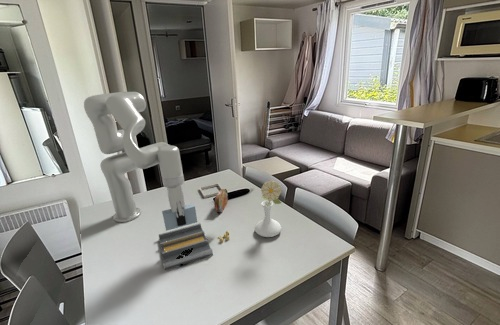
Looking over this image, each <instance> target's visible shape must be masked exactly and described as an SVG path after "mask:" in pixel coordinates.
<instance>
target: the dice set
mask: <svg viewBox="0 0 500 325" xmlns="http://www.w3.org/2000/svg"><path fill="white" fill-rule="evenodd" d="M222 235H223V236H220V235H218V236H217V239H219V242H220V243H224V239H225V241H230V231H228V230H227V231H225V233H223V234H222Z"/></svg>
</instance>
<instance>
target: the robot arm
mask: <svg viewBox="0 0 500 325" xmlns="http://www.w3.org/2000/svg"><path fill="white" fill-rule="evenodd" d="M83 108H84V112H85V114H86V117H87V118H88V119H89V121H90V122H91V124H92V126H93V130H94V132H95V133H94V134H95V136H96V137H95V138H96V141H97V145H98V147H99V150H100V152H101V153H102V154H104V155H111V156H108V157H106V158H104V159H103V160H101V162H100V170H101V171H102V174H103V176H104V178H105V181H106V183H107V186H108V187H107V188H108V189H109V190H108V191H109V193H110V197H111V200H112V205H113V208H114V215H113V216H112V217H113V221H114V222H115V223H126V222H131V221H133V220H135V219H136V218H138V217H139V216H140V215H141V212H142V211H141V209H140V208H138V207H137V205H136V201H135V197H134V193H133V188H132V184H131V180H129V179H128V178H127V177H126V176H124V174H127V173H130V172H132V171H135V170H137V169H139V170H140V169H142V170H145V169H148V168H151V167H154V166H157V165H159V169H160V174H161V180H162V184H163V187H164V188H166V191H167V192H166V193H167V197H168V202H169V207H170V209H171V211H172V212H173V213H174V212H176V215H177V217H176V219H177V225H178V226H182V225H185V224H186V219H185V215H184V211H183V209H184V210H185V205H186V202H185V197H184V191H183V185H184V183H185V176H184V173H183V164H182V160H181V153H180V148H178V147H177V146H176V145H171V144H168V143H167V142H164V141H160V142H156V143H153V144H149V145H146V146H143V147H139V146H138V142H137V138H136V136H137V135H138V134H140V133H141V132H143V130H144V129H145V126H146V119H145V118H144V117H143V116H142V115H141V112H142V113H143V112H144V111H145V109H146V108H147V103H146V100H145V98H144V96H143V95H142V94H141V93H139V92H137V91H119V92H110V93H100V94H95V95H91V96H88V97H87V98H85V100H84V102H83ZM110 115H112V117H113V118H112V117H111V116H110ZM114 119H115V120H114ZM115 121H116V122H117V123H118V125H119V126H120V128H122V129H118V130H117V127H116V122H115ZM123 151H124V152H123ZM119 152H120V153H119ZM115 153H117V154H115ZM112 154H113V155H112ZM178 212H179V213H178ZM182 227H183V226H182Z"/></svg>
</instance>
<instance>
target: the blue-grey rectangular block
mask: <svg viewBox="0 0 500 325" xmlns="http://www.w3.org/2000/svg"><path fill="white" fill-rule="evenodd" d="M183 211H184V215H185V219H186V224H185V225H182V226H178V225H177V219H176V217H177V215H176V212H174V213H173V212H172V211H171V208H169V209H166V210H162V211H161V213H162V217H163V221H164V227H165V228H164V229H165V231H166V232H168V231H172V230H174V229H175V230H176V229H179V228H183V227H184V226H185V227H187V226H190V225H192V224H193V225H194V224H197V223H198V217H197V210H196V206H195V203H190V204H185V210H184V209H183ZM178 213H179V212H178Z"/></svg>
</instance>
